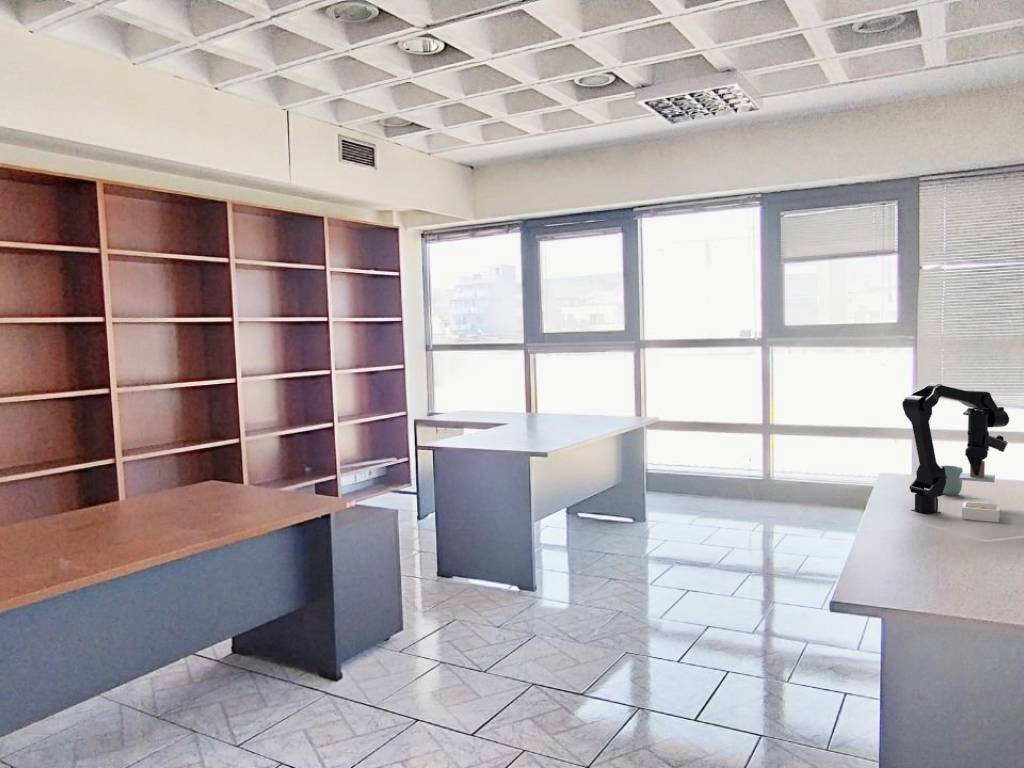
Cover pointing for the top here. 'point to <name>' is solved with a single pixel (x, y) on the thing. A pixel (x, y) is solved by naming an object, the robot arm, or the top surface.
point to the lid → (980, 477)
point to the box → (981, 511)
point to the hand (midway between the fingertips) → (976, 474)
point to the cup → (952, 480)
